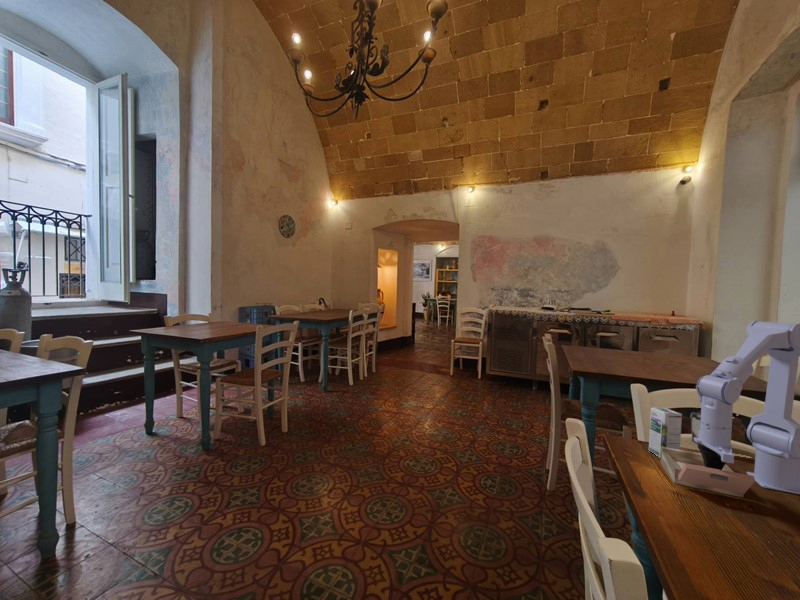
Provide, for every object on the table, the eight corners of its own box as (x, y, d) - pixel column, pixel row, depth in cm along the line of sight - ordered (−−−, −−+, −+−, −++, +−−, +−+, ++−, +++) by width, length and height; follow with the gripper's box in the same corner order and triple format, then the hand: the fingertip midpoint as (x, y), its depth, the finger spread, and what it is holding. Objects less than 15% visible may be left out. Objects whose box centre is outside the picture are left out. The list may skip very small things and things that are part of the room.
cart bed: (720, 474, 96) (721, 456, 96) (743, 497, 85) (744, 477, 85) (660, 463, 101) (661, 446, 101) (674, 483, 90) (675, 465, 90)
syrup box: (647, 451, 109) (649, 407, 108) (664, 451, 109) (666, 407, 109) (662, 460, 103) (664, 413, 103) (680, 460, 104) (682, 413, 103)
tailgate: (742, 488, 85) (753, 475, 80) (745, 497, 83) (757, 484, 79) (677, 476, 90) (685, 463, 86) (679, 483, 88) (687, 471, 84)
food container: (736, 458, 106) (738, 427, 105) (713, 456, 107) (715, 425, 107) (709, 441, 118) (710, 413, 117) (689, 439, 119) (690, 411, 119)
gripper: (685, 412, 93) (682, 460, 94) (707, 432, 80) (704, 488, 80) (718, 416, 90) (715, 466, 91) (747, 438, 77) (743, 496, 77)
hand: (712, 477), depth 85 cm, fingers closed, pressing on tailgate
